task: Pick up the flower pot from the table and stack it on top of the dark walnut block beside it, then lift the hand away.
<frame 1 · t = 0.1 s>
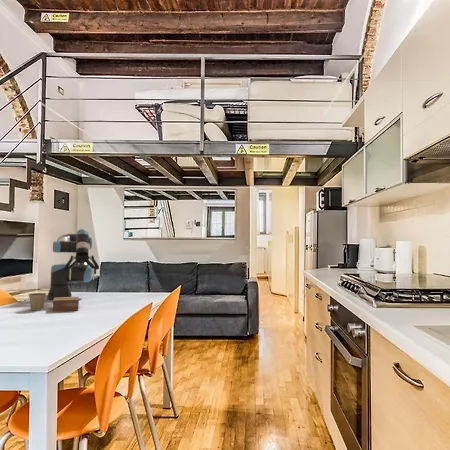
hand: (81, 278, 246), 15 cm above the table, tool tilted 35°, fingers open, 13 cm apart
walnut block: (65, 309, 224), on the table
flower pot: (37, 310, 222), on the table
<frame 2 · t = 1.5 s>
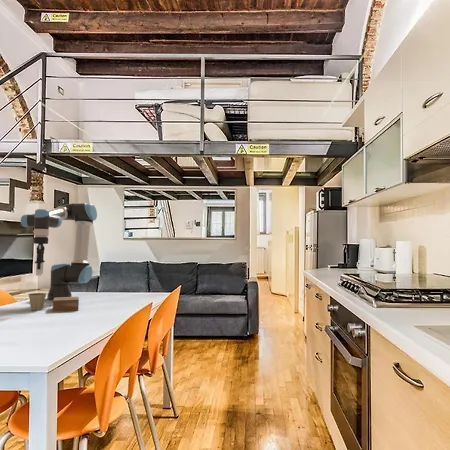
hand: (39, 274, 223), 19 cm above the table, tool pointing down, fingers open, 13 cm apart
nothing on the table moved.
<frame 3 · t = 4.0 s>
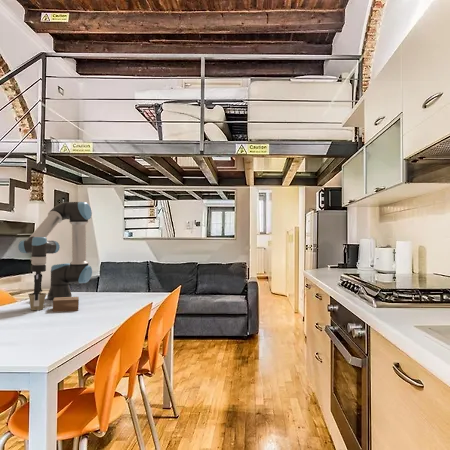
hand: (37, 304, 222), 3 cm above the table, tool pointing down, fingers closed on flower pot, 9 cm apart
flower pot: (37, 310, 222), on the table, touching gripper
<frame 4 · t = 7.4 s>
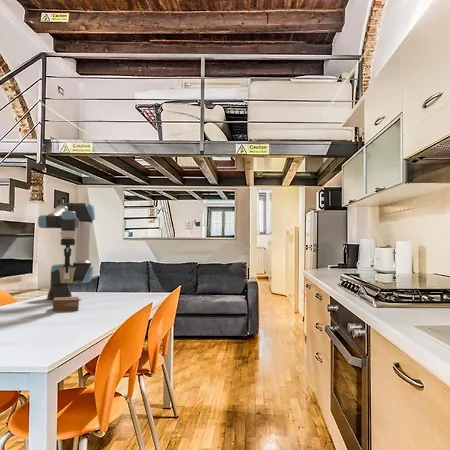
hand: (66, 278, 224), 17 cm above the table, tool pointing down, fingers closed on flower pot, 9 cm apart
flower pot: (66, 283, 224), point 15 cm above the table, touching gripper
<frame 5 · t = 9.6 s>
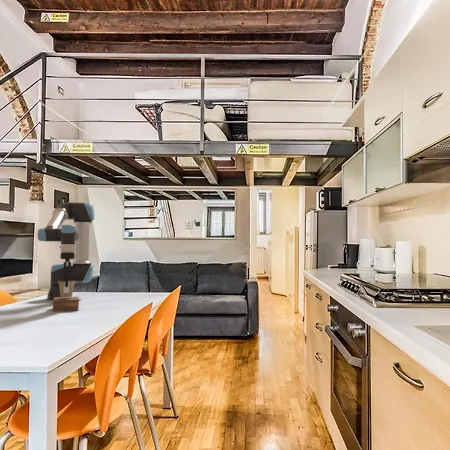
hand: (66, 291, 224), 10 cm above the table, tool pointing down, fingers closed on flower pot, 9 cm apart
flower pot: (66, 297, 224), point 7 cm above the table, touching gripper
when the fingers open (9 cm above the table, at t = 11.2 s): flower pot stays where it is, resting on walnut block.
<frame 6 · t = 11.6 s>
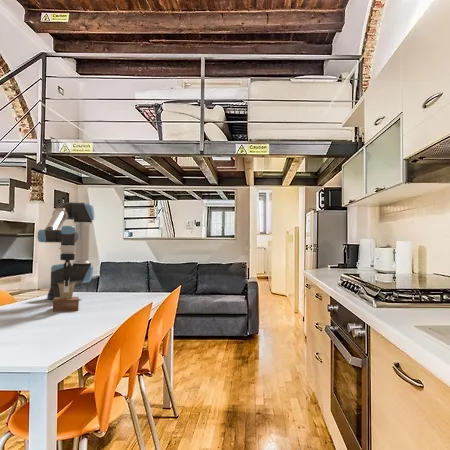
hand: (66, 291, 224), 10 cm above the table, tool pointing down, fingers open, 13 cm apart
flower pot: (66, 298, 224), point 6 cm above the table, touching walnut block
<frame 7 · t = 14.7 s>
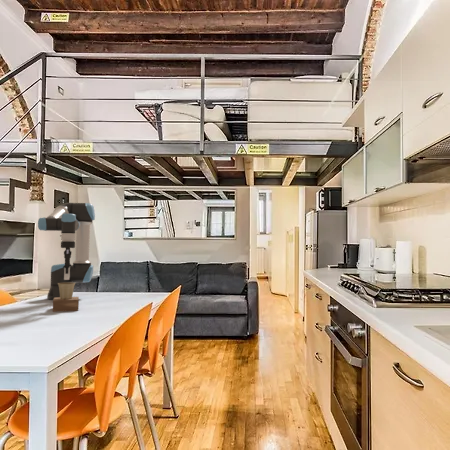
hand: (66, 278, 225), 17 cm above the table, tool pointing down, fingers open, 13 cm apart
nothing on the table moved.
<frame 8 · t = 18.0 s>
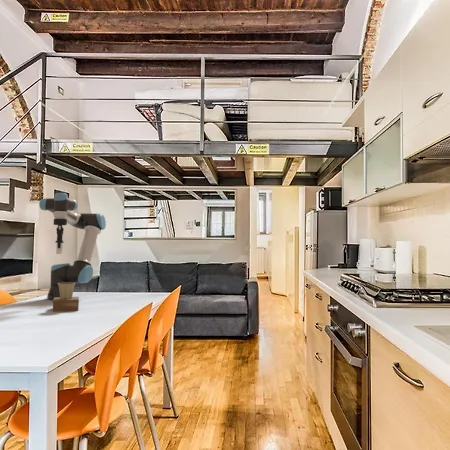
hand: (59, 253, 241), 31 cm above the table, tool pointing down, fingers open, 13 cm apart
nothing on the table moved.
at the end: flower pot inside the target area on the walnut block (0.0 cm from its centre), point 5.8 cm above the walnut block's base; flower pot tilted 0°; the gripper is holding nothing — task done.
